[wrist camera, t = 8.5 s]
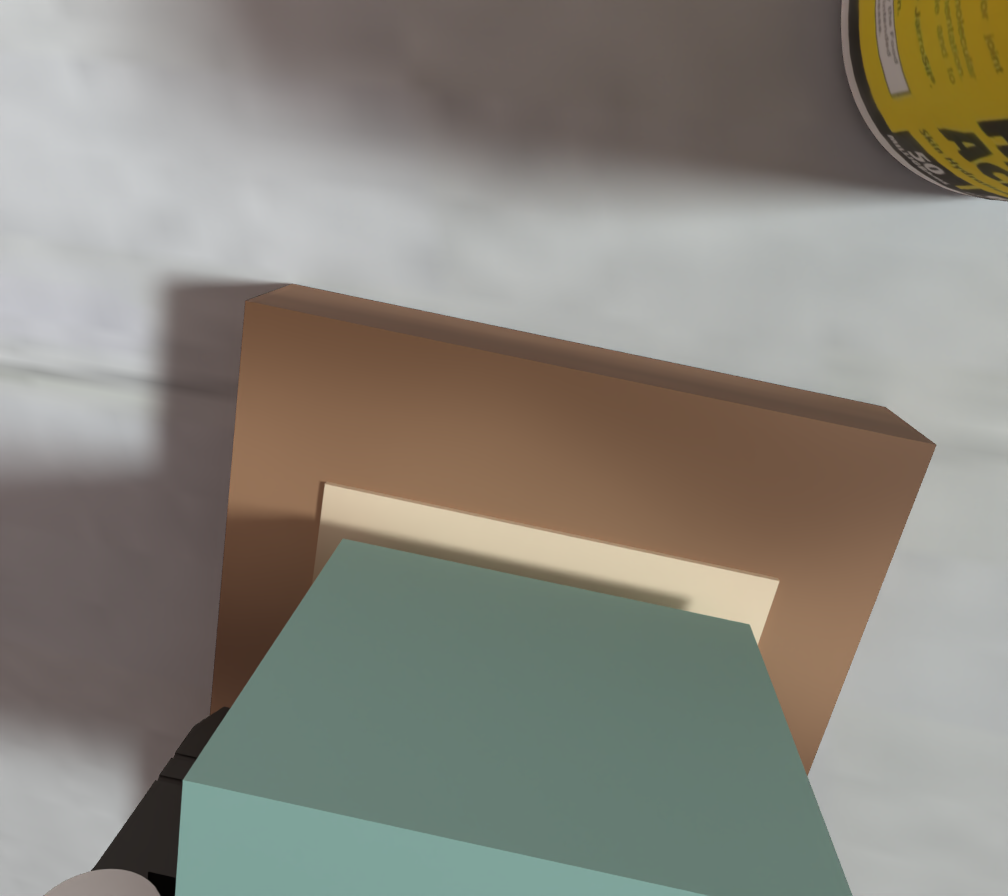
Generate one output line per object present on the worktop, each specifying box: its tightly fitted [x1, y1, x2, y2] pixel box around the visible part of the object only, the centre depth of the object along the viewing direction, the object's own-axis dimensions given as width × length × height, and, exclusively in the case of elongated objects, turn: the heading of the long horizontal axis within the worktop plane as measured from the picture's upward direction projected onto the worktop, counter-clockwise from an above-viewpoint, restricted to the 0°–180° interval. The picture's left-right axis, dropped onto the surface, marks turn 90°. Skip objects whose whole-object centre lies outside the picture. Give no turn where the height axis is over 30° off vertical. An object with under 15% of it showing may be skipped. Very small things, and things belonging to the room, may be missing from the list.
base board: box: [210, 284, 936, 776], centre depth 14 cm, size 12×10×2 cm
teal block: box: [175, 539, 852, 896], centre depth 10 cm, size 6×6×5 cm
